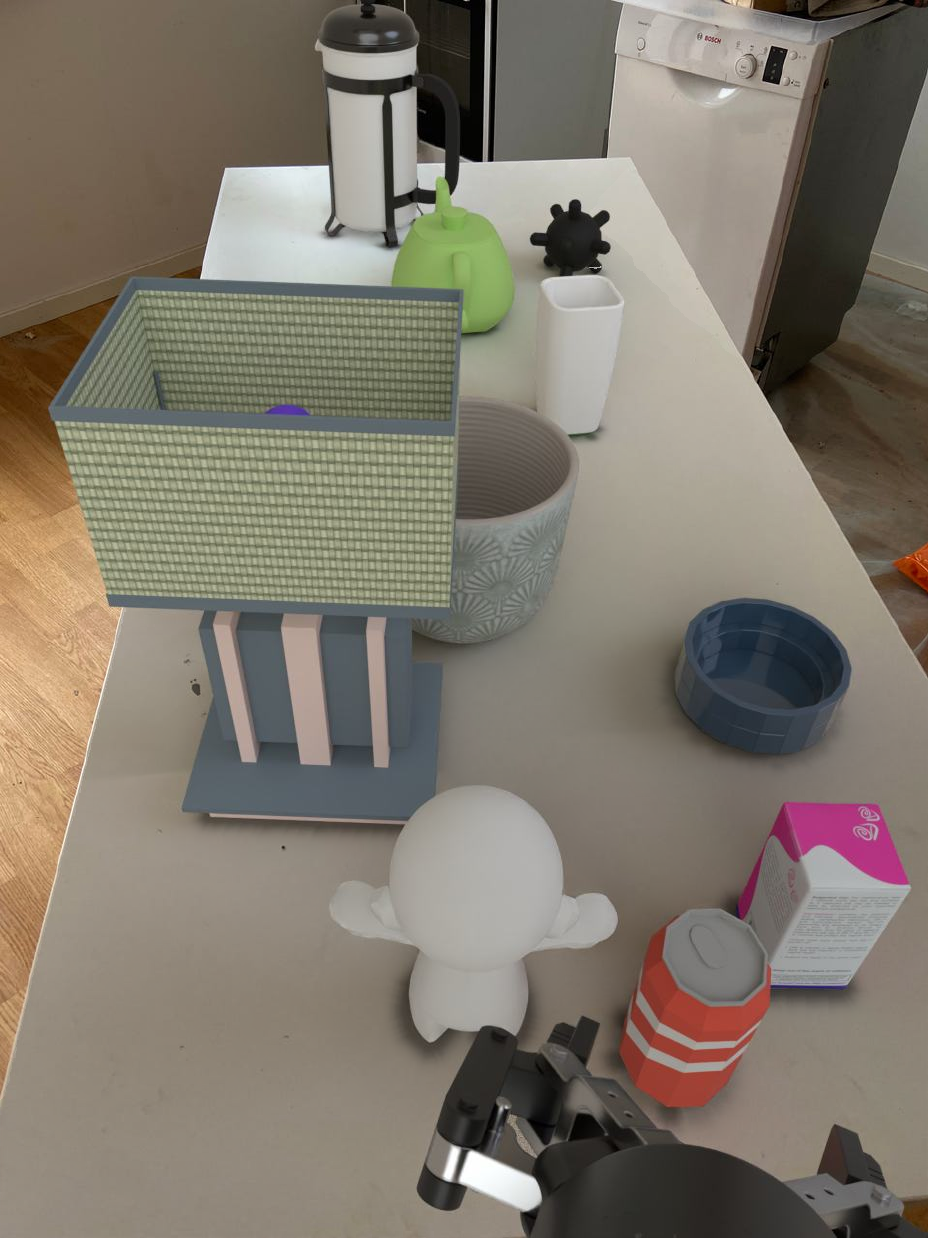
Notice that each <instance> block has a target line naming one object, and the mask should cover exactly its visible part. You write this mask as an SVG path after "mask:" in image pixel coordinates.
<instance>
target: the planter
mask: <svg viewBox="0 0 928 1238" xmlns="http://www.w3.org/2000/svg"><path fill="white" fill-rule="evenodd" d="M458 462H459V469H458V489H457V507H456V526H455V544H454V562H453V581H452V599H451V617H450V620H440V619H414V618H412V631H415V632H416V633H418V634H420V635H422V636H425V637H427V638H429V639H433V640H436V641H440V642H443V643H449V644H464V645H465V644H476V643H482V642H483V643H484V642H487V641H491V640H495V639H498V638H500V637H503V636H506V635H507V634H510V633H511V632H513V631H515V630H517V629H519V628H520V627H521V626H523V625H524V624H526V622H528V621H530V619H531V618H532V617H533V616H534V615H535V614H536V613H537V612H538V610H539V609H540V607H541V606H542V605H543V603H544V602H545V600H546V599H547V597H548V595H549V593H550V592H551V589H552V587H553V584H554V581H555V579H556V576H557V574H558V573H557V572H558V569H559V564H560V560H561V555H562V551H563V546H564V542H565V537H566V533H567V527H568V524H569V519H570V514H571V510H572V506H573V501H574V496H575V491H576V486H577V482H578V478H579V473H580V458H579V454H578V450H577V448H576V446H575V444H574V442H573V440H572V439H571V437H570V435H569V436H568V435H567V434H566V433H565V432H564V431H563V429H562V428H560V427H559V426H558V425H557V424H556V423H554V422H553V421H551V420H550V419H549V418H547V417H545V416H543V415H542V414H540V413H538V412H537V410H533V409H532V408H529V407H526V406H523V405H521V404H518V403H514V402H511V401H506V400H503V399H497V398H493V397H486V396H474V395H459V429H458Z"/></svg>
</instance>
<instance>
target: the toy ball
mask: <svg viewBox="0 0 928 1238" xmlns="http://www.w3.org/2000/svg"><path fill="white" fill-rule="evenodd" d="M549 211H550V215H551V216H552V218H553V220H552V221H551V222H550V223H549V225H548V226H547V228H546V232H539V231H538V232H537V231H535V232H533V233H532V234H530V236H529V242H530V244H531V245H532V246H533V247H535V246H536V247H544V251H545V253H546V255H545V256H544V257H543V264H544V265H545V266H546V267H548V268H549V267H553V266H555V267H556V268H557V269H560V270H559V271H560V272H559V276H558V277H564V276H573V273H574V272H580V271H583V270H584V269H586V268H587V269H588V270H589V271H590V272H591V273H593V274H594V275H598V274H599V273H600V272H601V271H602V268H603V264H602V263H601V261H599V259H598V256H599V255H604V256H605V255H607V254H609V253H610V251H611V243H609V242H608V241H607V240H602V238H603V235H602V230H601V228H602V227H603V226H604V225H606V224H607V223H608V222H609V221H610V220H611V219H610V218H611V214H610V213H609V211H608V210H605V209H602V210H600V211H599V212H598V213H596V214H595V215H594V216H591V215H590V214H589V213H587V212H584V211H582V202H581V200H579V199H577V198H575V199H571V200H570V201H569V202H568V210H565V211H564V209H563V207H562V205H561V204H560V203H554V204H552V205H551V207H550V208H549ZM600 266H602V267H601V268H597V269H594V268H589V267H600Z"/></svg>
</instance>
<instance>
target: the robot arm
mask: <svg viewBox="0 0 928 1238" xmlns="http://www.w3.org/2000/svg"><path fill="white" fill-rule="evenodd" d="M600 1026H601V1022H599V1021H596V1020H594V1019H592V1018H589V1017H587V1016H585V1015H580V1017H579V1020H578V1022H577V1024H576V1026H573V1025H571V1024H569V1023H567V1022H564V1021H562V1022H559V1023H556V1024H554V1026H553V1028H552V1030H551V1032H550V1034H549V1036H548V1038H547V1039H546V1042H545V1041H544V1042H542V1043H540V1045H539V1047H538V1051H536V1052H533V1051H530V1052H529V1051H525V1050H520V1049H518V1046H519V1040H518V1038H517V1037H516V1036H514V1035H513V1034H512V1033H510V1032H508V1031H507V1030H505V1029H503V1028H500V1027H496V1026H491V1025H486V1026H482V1027H481V1029H480V1030H479V1031H477V1032H478V1033H477V1034H476V1036H475V1038H474V1040H473V1042H472V1044H471V1045H470V1048H469V1050H468V1051H467V1053H466V1056H465V1058H464V1059H463V1061H462V1064H461V1065H460V1067H459V1069H458V1071H457V1073H456V1075H455V1077H454V1079H453V1081H452V1083H451V1085H450V1086H449V1089H448V1090H447V1092H446V1094H445V1096H444V1100H443V1103H442V1106H441V1109H440V1112H439V1114H438V1115H439V1116H438V1119H437V1122H436V1125H435V1127H434V1131H433V1134H432V1137H431V1140H430V1143H429V1146H428V1150H427V1153H426V1156H425V1160H424V1162H423V1166H422V1169H421V1172H420V1174H419V1178H418V1181H417V1184H416V1193H417V1194H418V1197H419V1198H420V1199H421V1200H422V1201H423V1202H424V1203H426V1205H428V1206H430V1207H431V1208H434V1209H436V1210H440V1211H446V1212H452V1211H456V1210H458V1209H459V1208H460V1207H461V1205H462V1204H463V1201H464V1198H465V1195H466V1193H467V1190H468V1189H470V1190H471V1191H472V1192H474V1193H476V1194H482V1195H484V1196H486V1197H488V1198H491V1199H493V1200H495V1201H497V1202H499V1203H502V1204H504V1205H506V1206H508V1207H510V1208H512V1209H514V1210H517V1211H519V1218H520V1222H521V1228H522V1229H523V1232H524V1235H525V1238H928V1232H926V1231H924V1230H922V1229H921V1228H920V1227H918V1226H916V1225H914V1224H913V1223H912V1222H910V1221H909V1220H907V1219H906V1218H905V1217H903V1213H904V1211H905V1204H904V1202H903V1201H902V1200H901V1199H900V1198H899V1197H898V1196H897V1195H896V1194H894V1193H893V1192H892V1191H890V1189H888V1187H887V1182H886V1179H885V1177H884V1174H883V1170H882V1168H881V1167H882V1166H881V1165H880V1164H879V1163H878V1162H877V1160H876V1159H875V1157H873V1156H872V1154H869V1153H867V1152H865V1151H864V1150H863V1146H862V1142H861V1140H860V1139H861V1138H860V1136H859V1133H857V1132H856V1131H853V1130H851V1129H849V1128H847V1127H843V1126H841V1125H839V1124H836V1123H834V1124H833V1125H832V1127H831V1129H830V1132H829V1134H828V1137H827V1140H826V1144H825V1146H824V1149H823V1152H822V1156H821V1159H820V1161H819V1165H818V1167H817V1168H818V1169H817V1171H816V1174H815V1175H810V1176H805V1177H800V1178H796V1179H795V1178H794V1179H790V1180H786V1181H781V1180H779V1179H778V1178H777V1177H775V1176H774V1175H773V1174H771V1173H769V1172H767V1171H766V1170H764V1169H762V1168H760V1167H759V1166H757V1165H755V1164H753V1163H751V1162H749V1161H747V1160H745V1159H743V1158H740V1157H737V1156H735V1155H733V1154H730V1153H728V1152H724V1151H721V1150H718V1149H714V1148H709V1147H705V1146H702V1145H695V1144H688V1143H684V1142H683V1141H680V1139H679V1138H678V1137H677V1136H676V1135H675V1133H673V1131H671V1130H669V1129H664V1128H658V1127H657V1126H656V1124H654V1123H653V1121H652V1120H651V1119H650V1118H649V1117H648V1115H647V1114H646V1113H645V1111H643V1109H642V1108H640V1106H639V1105H638V1103H636V1101H635V1100H634V1099H633V1098H632V1097H631V1096H630V1095H629V1093H628V1092H627V1091H626V1090H625V1088H623V1087H622V1085H620V1084H619V1082H618V1081H617V1080H616V1079H614V1078H609V1077H601V1076H595V1075H593V1074H592V1073H591V1072H590V1070H589V1069H588V1068H587V1067H588V1064H589V1062H590V1058H591V1055H592V1051H593V1048H594V1046H595V1042H596V1039H597V1036H598V1033H599V1030H600ZM510 1115H511V1116H515V1117H516V1119H515V1125H516V1126H517V1128H518V1129H519V1131H520V1133H521V1134H522V1136H523V1137H524V1138H525V1140H526V1142H527V1144H528V1145H529V1147H530V1148H531V1150H532V1151H533V1152H534V1154H535V1156H536V1157H535V1156H533V1155H531V1154H530V1153H528V1152H527V1151H526V1150H525V1149H524V1148H523V1147H522V1146H521V1145H520V1144H519V1142H518V1135H517V1131H516V1130H515V1128H514V1127H513V1126H512V1125H511V1124H510V1123H508V1121H509V1117H510Z"/></svg>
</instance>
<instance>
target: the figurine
mask: <svg viewBox="0 0 928 1238" xmlns="http://www.w3.org/2000/svg"><path fill="white" fill-rule="evenodd" d="M390 859H391V860H390V865H389V877H388V879H389V881H388V883H389V885H383V886H380V887H377V888H374V887H373V885H372V886H371V884H368V883H365V882H363V881H359V880H348V881H343V882H342V883H341V884H340V885H339V886H338V887H337V888H336V890H334V892H333V894H332V895H331V897H330V898H329V902H328V909H329V912H330V916H331V918H332V919H333V921H334V922H335V923H336V924H337V925H338V926H339V927H341V928H344V929H345V930H347V931H348V932H349V933H350V934H351V935H353V936H354V937H363V938H366V939H374V938H377V939H382V940H388V941H391V942H395V943H400V944H404V945H407V946H414V947H416V948H417V949H418V954H417V957H416V959H415V962H414V965H413V968H412V972H411V975H410V978H409V987H408V1000H409V1010H410V1015H411V1019H412V1021H413V1025H414V1026H415V1028H416V1030H417V1032H418V1033H419V1034H420V1035H421V1037H422V1038H423V1039H424V1040H426V1041H427V1043H432V1042H433V1043H434V1042H435V1041H437V1040H438V1039H439V1038H440V1037H441V1036H442V1035H443V1034H444V1033H445V1032H446V1031H447V1030H448V1029H451V1030H455V1031H459V1032H472V1033H473V1032H479V1030H480V1029H481V1027H482V1026H486V1025H491V1026H496V1027H500V1028H503V1029H505V1030H507V1031H508V1032H510V1033H512V1034H513V1035H514V1036H515V1037H516V1036H517V1035H518V1033H519V1032H520V1030H521V1028H522V1025H523V1023H524V1020H525V1017H526V1012H527V1008H528V1003H529V981H528V976H527V971H526V966H525V962H524V958H525V956H527V955H529V953H531V952H540V951H546V950H554V949H563V948H565V949H566V948H569V949H573V950H579V949H591V948H592V947H594V946H595V945H597V944H598V943H599V942H602V941H604V940H608V938H609V937H611V935H613V934H614V933H615V932H616V931H615V930H616V928H617V925H618V923H619V917H618V913H617V910H616V908H615V907H614V905H613V904H612V902H611V901H610V900H609V898H608V897H607V895H604V894H601V893H599V892H588V893H583V894H581V895H578V896H576V897H575V898H573V896H570V895H567V894H563V888H564V868H563V860H562V856H561V852H560V849H559V845H558V843H557V840H556V838H555V835H554V834H553V831H552V830H551V827H549V825H548V824H547V822H546V820H545V819H544V818H543V816H542V815H541V814H540V813H539V812H538V811H537V809H535V808H534V807H533V806H532V805H531V804H530V803H529V802H527V801H526V800H524V799H523V798H521V797H520V796H518V795H516V794H515V793H513V792H511V791H508V790H505V789H503V788H500V787H495V786H490V785H484V784H469V785H463V786H458V787H457V786H456V787H453V788H450V789H448V790H445V791H443V792H440V793H438V794H436V795H435V797H433V798H432V799H430V800H429V801H427V802H426V803H425V804H424V805H422V806H421V807H420V808H419V809H418V810H417V811H416V812H415V813H414V814H413V815H412V817H411V818H410V819H409V820H408V822H407V823H406V824H404V826H403V827H402V829H401V832H400V833H399V834H398V837H397V839H396V842H395V844H394V847H393V851H392V854H391V858H390Z"/></svg>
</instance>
